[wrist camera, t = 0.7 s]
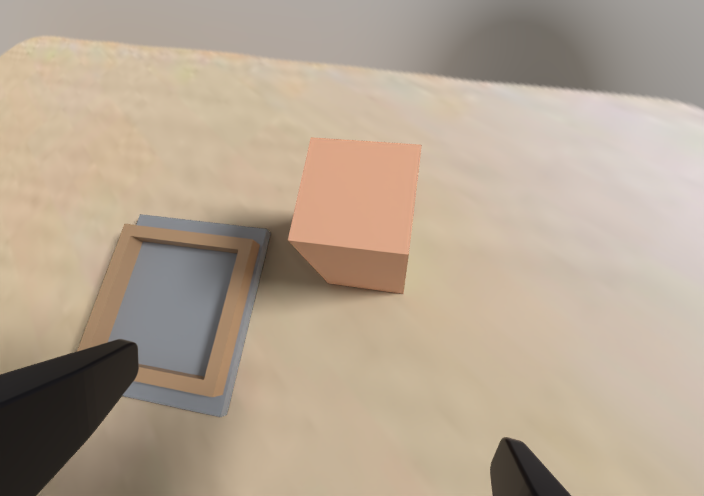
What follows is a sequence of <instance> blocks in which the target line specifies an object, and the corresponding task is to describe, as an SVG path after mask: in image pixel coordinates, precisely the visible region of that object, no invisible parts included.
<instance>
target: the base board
mask: <svg viewBox="0 0 704 496" xmlns="http://www.w3.org/2000/svg"><path fill="white" fill-rule="evenodd" d="M270 234H271V233H270V232H269V231H268V230H267V229H263V228H254V227H245V226H237V225H228V224H219V223H211V222H202V221H193V220H185V219H176V218H167V217H159V216H150V215H141V214H140V216H139V219H138V222H137V224H136V225H131V224H124V227H123V229H122V232H121V235H120V237H119V240H118V243H117V245H116V248H115V251H114V253H113V256H112V259H111V261H110V264H109V267H108V269H107V272H106V275H105V277H104V280H103V283H102V286H101V288H100V291H99V294H98V296H97V299H96V302H95V304H94V307H93V310H92V312H91V315H90V318H89V320H88V323H87V326H86V328H85V331H84V334H83V336H82V339H81V342H80V345H79V347H78V350H77V351H80V350H84V349H87V348H90V347H94V346H97V345H100V344H104V343H107V342H110V341H114V340H117V339H124V340H128V341H132V342H135V343H136V344H137V346H138V360H139V370H138V374H137V376H136V378H135V380H134V381H133V382H132V384H131V385H130V386H129V388H128V389H127V390H126V392H125V393H124V394H123V395H122V396H125V397H130V398H135V399H139V400H144V401H148V402H153V403H158V404H162V405H167V406H171V407H176V408H181V409H185V410H190V411H195V412H199V413H204V414H208V415H213V416H218V417H222V416H225V415H227V412H228V408H229V404H230V400H231V396H232V392H233V387H234V383H235V379H236V375H237V371H238V367H239V363H240V358H241V354H242V350H243V346H244V342H245V338H246V334H247V330H248V325H249V321H250V317H251V313H252V309H253V305H254V301H255V296H256V292H257V288H258V284H259V280H260V276H261V272H262V267H263V263H264V259H265V255H266V251H267V247H268V243H269V238H270Z"/></svg>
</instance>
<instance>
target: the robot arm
mask: <svg viewBox="0 0 704 496" xmlns="http://www.w3.org/2000/svg"><path fill="white" fill-rule="evenodd" d="M138 370H139V360H138V346H137V344H136V343H135V342H132V341H128V340H124V339H117V340H114V341H110V342H107V343H104V344H100V345H97V346H94V347H90V348H87V349H84V350H80V351H77V352H74V353H70V354H67V355H64V356H60V357H57V358H54V359H50V360H47V361H44V362H41V363H37V364H34V365H31V366H27V367H24V368H21V369H17V370H14V371H11V372H7V373H4V374H1V375H0V496H36V495H37V494H38V493H39V492H40V491H41V490H42V489H43V488H44V487H45V486H46V485H47V483H48V482H49V481H50V480H51V479H52V478H53V477H54V476H55V475H56V474H57V473H58V471H59V470H60V469H61V468H62V467H63V466H64V465H65V464H66V463H67V462H68V461H69V459H70V458H71V457H72V456H73V455H74V454H75V453H76V452H77V451H78V450H79V449H80V447H81V446H82V445H83V444H84V443H85V442H86V441H87V440H88V438H89V437H90V436H91V435H92V434H93V432H94V431H95V430H96V429H97V428H98V426H99V425H100V424H101V422H102V421H103V420H104V419H105V417H106V416H107V415H108V413H109V412H110V411H111V410H112V408H113V407H114V406H115V404H116V403H117V402H118V401H119V399H120V398H121V397H122V395H123V394H124V393H125V392H126V390H127V389H128V388H129V386H130V385H131V384H132V382H133V381H134V380H135V378H136V376H137V374H138ZM490 476H491V485H492V494H493V496H571V495H570V494H569V493H568V491H567V490H566V489H565V488H564V487H563V486H562V485H561V484H560V483H559V481H558V480H557V479H556V478H555V477H554V476H553V475H552V474H551V472H550V471H549V470H548V469H547V468H546V467H545V466H544V465H543V464H542V462H541V461H540V460H539V459H538V458H537V457H536V456H535V455H534V453H533V452H532V451H531V450H530V449H529V448H528V447H527V446H526V445H525V444H524V443H523V442H522V441H520V440H516V439H512V438H508V437H504V438H502V439H501V441H500V443H499V445H498V448H497V450H496V453H495V455H494V457H493V460H492V462H491V467H490Z"/></svg>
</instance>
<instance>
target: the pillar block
mask: <svg viewBox="0 0 704 496" xmlns="http://www.w3.org/2000/svg"><path fill="white" fill-rule="evenodd" d="M421 146H422V145H416V144H401V143H386V142H371V141H356V140H341V139H326V138H311V139H310V144H309V148H308V153H307V157H306V161H305V166H304V170H303V175H302V179H301V184H300V188H299V192H298V197H297V201H296V206H295V210H294V215H293V219H292V223H291V228H290V232H289V237H288V241H289V242H290V243H291V244H292V245H293V246H294V247H295V249H296V250H297V251H298V252H299V253H300V254H301V255H302V256H303V257H304V258H305V259H306V260H307V261H308V262H309V263H310V264H311V266H312V267H313V268H314V269H315V270H316V271H317V272H318V273H319V274H320V275H321V276H322V277H323V278H324V279H325V280H326V282H327V283H329V284H337V285H344V286H351V287H358V288H365V289H373V290H380V291H387V292H394V293H401V294H403V292H404V285H405V278H406V270H407V263H408V255H409V247H410V239H411V230H412V222H413V213H414V205H415V197H416V188H417V180H418V171H419V163H420V154H421Z"/></svg>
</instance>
